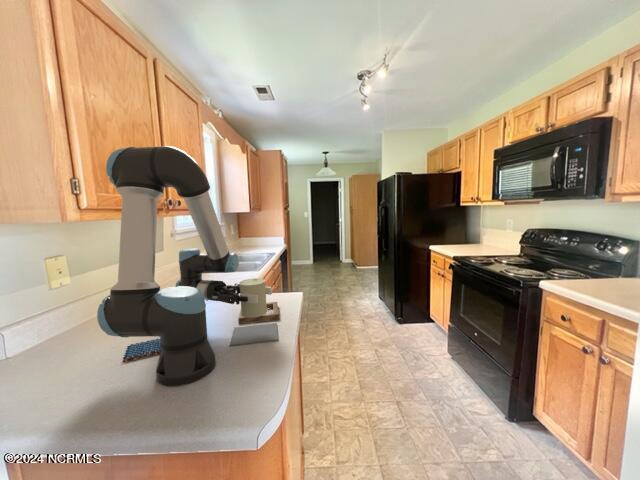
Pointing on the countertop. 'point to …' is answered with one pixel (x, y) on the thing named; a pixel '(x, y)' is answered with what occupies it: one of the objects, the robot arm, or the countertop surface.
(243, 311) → the can
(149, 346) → the woven mat
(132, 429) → the countertop surface
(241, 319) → the cradle
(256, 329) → the pad
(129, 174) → the robot arm
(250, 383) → the countertop surface
